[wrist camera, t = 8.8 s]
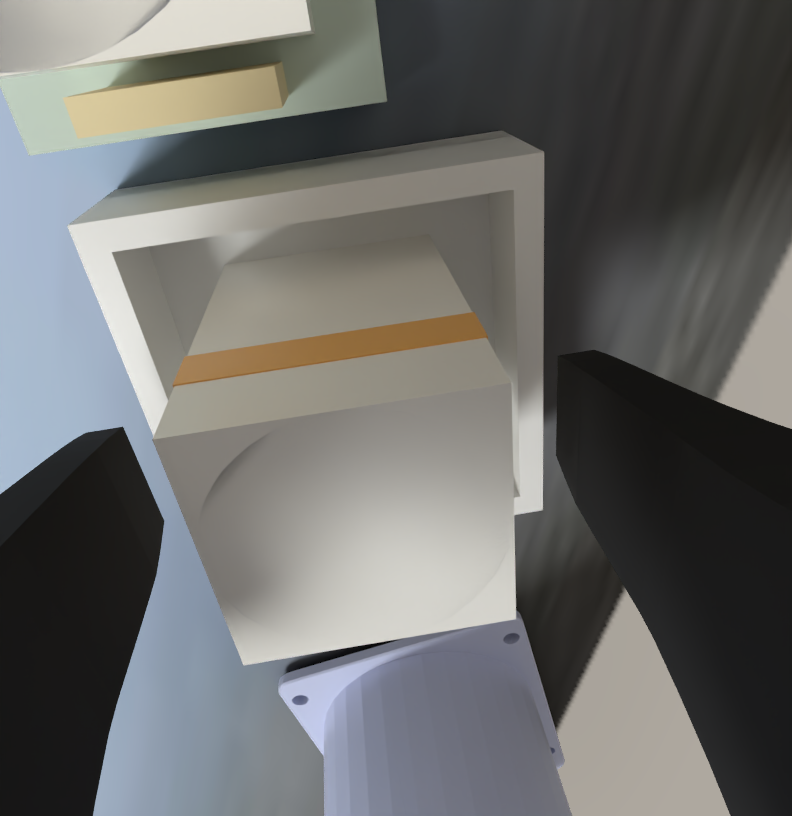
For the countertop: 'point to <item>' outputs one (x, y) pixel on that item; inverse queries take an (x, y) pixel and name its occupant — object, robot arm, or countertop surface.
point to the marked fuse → (344, 452)
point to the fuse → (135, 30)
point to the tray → (327, 229)
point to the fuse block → (206, 85)
